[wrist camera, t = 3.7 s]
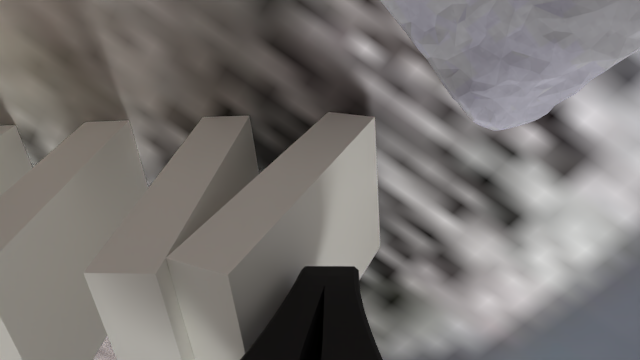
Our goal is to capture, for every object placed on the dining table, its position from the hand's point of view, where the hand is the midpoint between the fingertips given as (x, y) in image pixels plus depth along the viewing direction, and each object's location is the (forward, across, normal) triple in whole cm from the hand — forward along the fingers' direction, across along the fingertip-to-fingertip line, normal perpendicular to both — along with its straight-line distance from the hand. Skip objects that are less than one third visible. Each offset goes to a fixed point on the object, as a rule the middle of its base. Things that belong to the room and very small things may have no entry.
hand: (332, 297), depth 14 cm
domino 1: (+6, +8, 0) cm, 10 cm away
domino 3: (+6, 0, 0) cm, 6 cm away
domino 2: (+6, +4, 0) cm, 7 cm away
